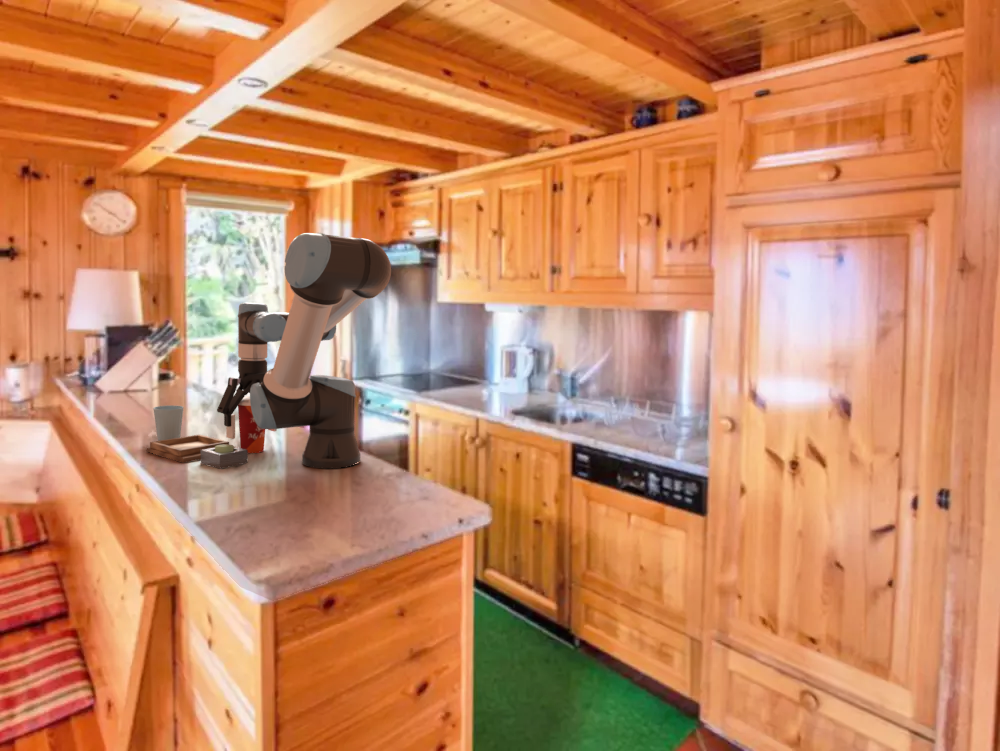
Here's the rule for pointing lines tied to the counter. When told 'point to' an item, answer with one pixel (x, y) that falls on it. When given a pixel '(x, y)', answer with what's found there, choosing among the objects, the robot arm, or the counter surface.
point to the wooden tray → (184, 447)
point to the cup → (168, 421)
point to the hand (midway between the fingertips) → (252, 434)
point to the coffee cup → (249, 429)
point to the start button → (224, 448)
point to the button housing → (224, 457)
